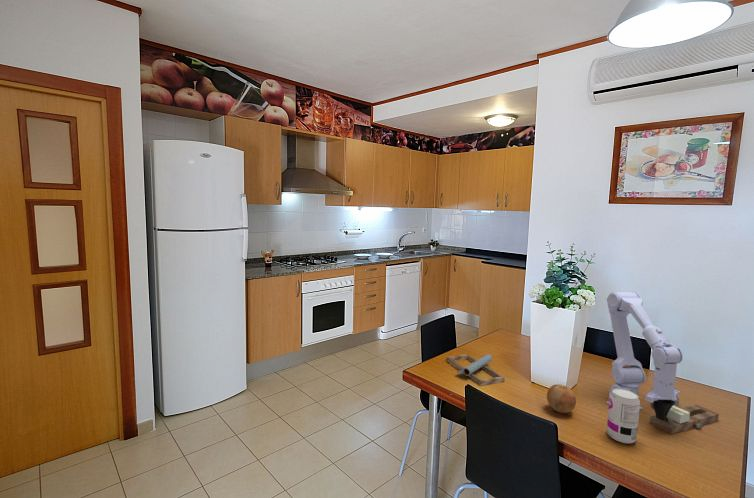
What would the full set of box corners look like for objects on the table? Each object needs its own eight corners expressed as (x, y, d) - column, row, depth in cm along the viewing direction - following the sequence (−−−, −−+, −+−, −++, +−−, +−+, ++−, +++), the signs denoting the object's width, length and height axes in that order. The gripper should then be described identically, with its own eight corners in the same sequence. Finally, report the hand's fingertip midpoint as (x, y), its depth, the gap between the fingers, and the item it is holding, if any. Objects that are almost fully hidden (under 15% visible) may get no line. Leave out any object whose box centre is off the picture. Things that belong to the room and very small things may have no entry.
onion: (575, 408, 138) (577, 383, 137) (574, 421, 130) (576, 394, 129) (547, 401, 143) (549, 377, 142) (544, 413, 135) (546, 387, 134)
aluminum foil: (469, 376, 159) (470, 369, 159) (456, 372, 163) (456, 364, 163) (492, 362, 176) (492, 355, 176) (479, 358, 180) (479, 351, 180)
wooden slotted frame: (675, 436, 122) (676, 429, 122) (645, 421, 131) (646, 414, 131) (722, 422, 131) (723, 416, 131) (691, 409, 140) (692, 403, 140)
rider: (679, 430, 125) (681, 414, 124) (658, 420, 131) (660, 405, 130) (688, 427, 127) (690, 411, 126) (668, 417, 133) (669, 402, 132)
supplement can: (603, 436, 121) (607, 393, 120) (610, 427, 127) (614, 385, 125) (633, 448, 115) (637, 402, 114) (638, 437, 121) (642, 393, 120)
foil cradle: (480, 385, 155) (480, 381, 155) (446, 361, 181) (446, 357, 181) (504, 381, 159) (504, 377, 159) (467, 358, 185) (467, 354, 185)
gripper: (662, 389, 118) (659, 429, 120) (691, 382, 123) (687, 421, 125) (640, 379, 125) (637, 417, 126) (668, 374, 130) (664, 410, 131)
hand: (660, 418), depth 126 cm, fingers closed
